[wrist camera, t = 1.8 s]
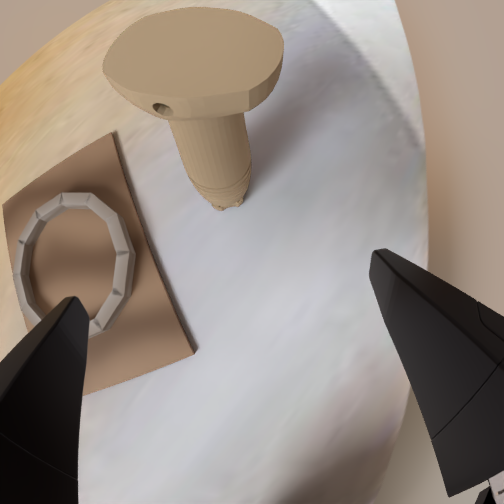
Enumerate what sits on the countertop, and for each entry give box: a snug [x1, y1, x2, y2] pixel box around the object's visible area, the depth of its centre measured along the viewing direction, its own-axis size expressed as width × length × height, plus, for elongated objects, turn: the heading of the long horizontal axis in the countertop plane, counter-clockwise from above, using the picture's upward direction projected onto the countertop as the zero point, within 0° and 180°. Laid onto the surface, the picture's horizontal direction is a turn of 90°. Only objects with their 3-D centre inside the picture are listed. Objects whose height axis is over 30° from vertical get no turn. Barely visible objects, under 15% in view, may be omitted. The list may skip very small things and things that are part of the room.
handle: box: [103, 7, 284, 211], centre depth 16 cm, size 5×6×15 cm
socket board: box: [2, 133, 195, 396], centre depth 22 cm, size 20×14×2 cm
